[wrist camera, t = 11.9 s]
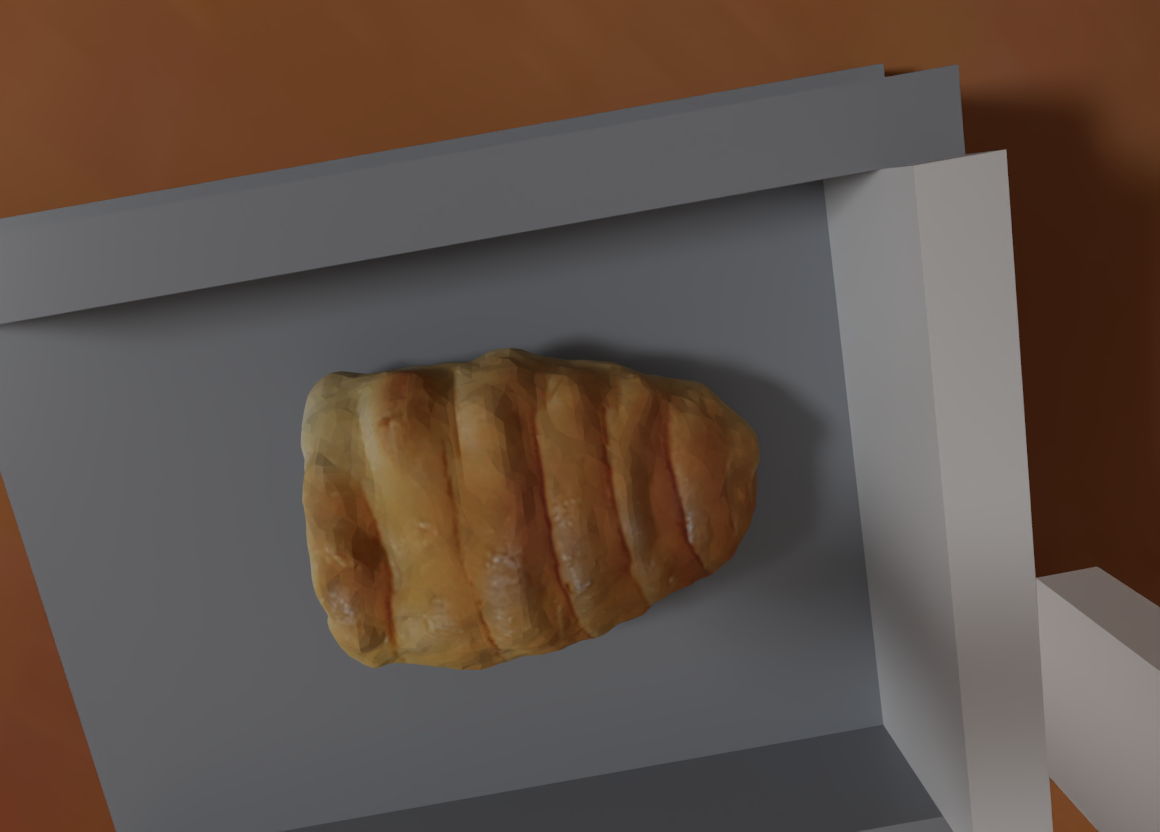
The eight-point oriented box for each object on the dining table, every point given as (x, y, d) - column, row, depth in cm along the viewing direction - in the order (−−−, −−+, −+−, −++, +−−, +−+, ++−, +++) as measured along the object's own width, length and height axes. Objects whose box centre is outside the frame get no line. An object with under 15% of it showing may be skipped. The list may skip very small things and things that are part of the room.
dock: (163, 899, 24) (42, 1121, 18) (-48, 230, 20) (-282, 241, 15) (935, 763, 24) (1060, 940, 18) (867, 69, 20) (997, 16, 15)
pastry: (728, 302, 20) (770, 327, 17) (761, 590, 22) (807, 671, 18) (297, 370, 20) (243, 409, 17) (360, 654, 22) (324, 747, 18)
